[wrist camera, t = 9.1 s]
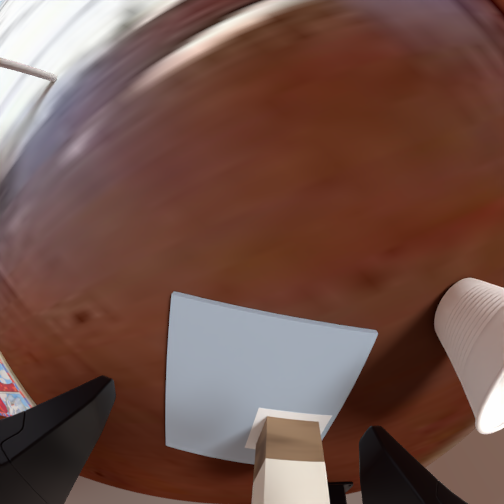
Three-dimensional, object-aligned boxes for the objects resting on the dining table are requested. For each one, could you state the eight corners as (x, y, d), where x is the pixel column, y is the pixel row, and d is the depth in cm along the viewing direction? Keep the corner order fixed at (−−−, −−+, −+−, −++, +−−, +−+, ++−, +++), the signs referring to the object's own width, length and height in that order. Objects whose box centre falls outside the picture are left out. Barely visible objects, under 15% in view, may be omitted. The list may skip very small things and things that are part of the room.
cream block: (305, 486, 19) (307, 527, 14) (253, 482, 19) (249, 525, 14) (324, 462, 18) (330, 509, 13) (265, 458, 18) (263, 508, 13)
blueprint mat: (302, 464, 26) (302, 468, 25) (167, 441, 26) (165, 445, 25) (375, 330, 20) (378, 334, 20) (174, 291, 21) (171, 294, 20)
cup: (436, 372, 21) (485, 448, 11) (394, 312, 20) (463, 403, 9) (503, 304, 19) (569, 357, 9) (475, 230, 18) (571, 271, 7)
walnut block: (302, 449, 24) (305, 486, 19) (255, 444, 24) (252, 482, 19) (318, 421, 23) (324, 462, 18) (267, 416, 23) (265, 458, 18)
